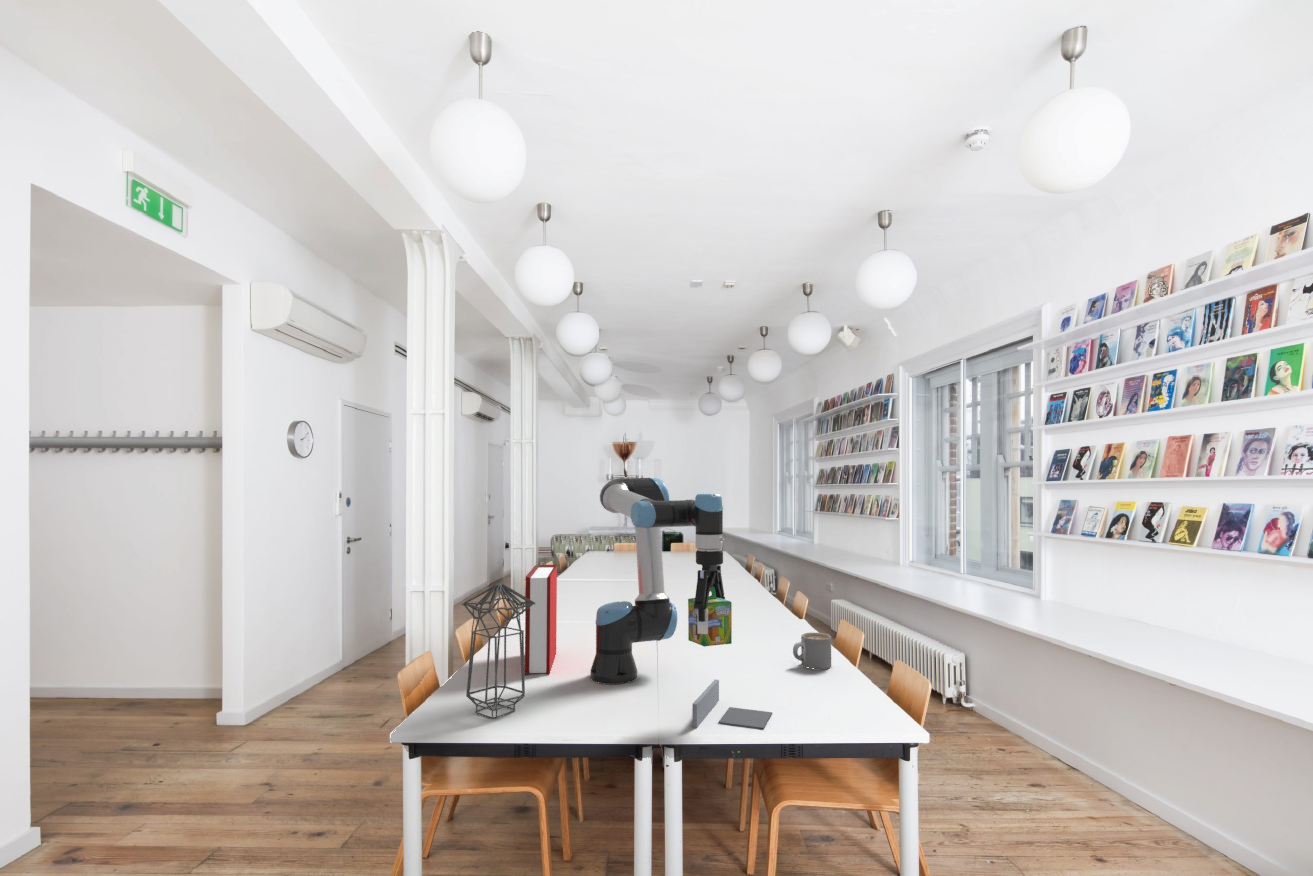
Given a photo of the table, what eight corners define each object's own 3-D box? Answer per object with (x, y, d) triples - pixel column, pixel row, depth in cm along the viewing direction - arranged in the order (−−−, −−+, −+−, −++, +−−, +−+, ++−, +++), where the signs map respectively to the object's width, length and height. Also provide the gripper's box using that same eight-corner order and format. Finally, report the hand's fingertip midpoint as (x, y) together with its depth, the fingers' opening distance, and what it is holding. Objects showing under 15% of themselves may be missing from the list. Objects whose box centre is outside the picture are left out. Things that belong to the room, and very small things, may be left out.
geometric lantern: (455, 713, 185) (458, 584, 188) (502, 699, 197) (504, 578, 200) (489, 726, 175) (493, 589, 178) (537, 711, 187) (539, 583, 190)
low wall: (692, 727, 175) (692, 703, 175) (714, 700, 195) (714, 679, 196) (696, 728, 174) (696, 704, 175) (718, 701, 195) (718, 680, 195)
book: (549, 675, 220) (550, 576, 222) (524, 675, 219) (525, 576, 221) (556, 652, 247) (557, 564, 249) (534, 653, 247) (535, 565, 248)
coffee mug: (826, 661, 236) (825, 632, 237) (835, 669, 226) (834, 639, 227) (788, 661, 236) (788, 632, 236) (796, 670, 226) (795, 639, 226)
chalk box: (703, 647, 178) (703, 591, 179) (687, 640, 186) (686, 586, 187) (733, 644, 182) (732, 588, 183) (715, 637, 190) (715, 584, 191)
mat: (718, 723, 177) (718, 721, 178) (729, 708, 189) (729, 707, 189) (763, 729, 173) (763, 727, 173) (772, 713, 185) (772, 712, 185)
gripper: (708, 554, 173) (709, 639, 172) (734, 546, 196) (735, 621, 195) (681, 553, 176) (682, 637, 175) (709, 545, 199) (710, 619, 197)
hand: (710, 628), depth 185 cm, fingers closed on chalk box, 12 cm apart
